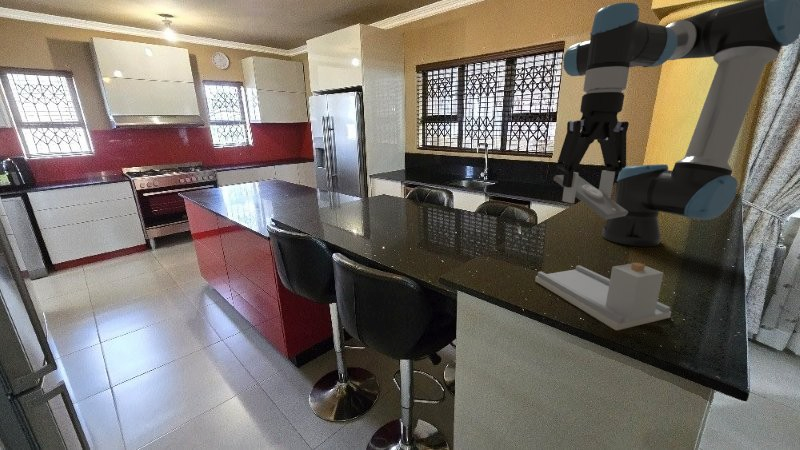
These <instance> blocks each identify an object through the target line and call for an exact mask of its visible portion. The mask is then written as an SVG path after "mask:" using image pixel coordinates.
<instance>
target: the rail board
mask: <svg viewBox="0 0 800 450" xmlns="http://www.w3.org/2000/svg"><path fill="white" fill-rule="evenodd" d="M664 273H665V272H662V271H660V270H657V269H656V268H652V267H649V266H646V264H643V263H641V262H632V263H626V264H620V265H613V266H612V267H611V272H610V278H608V277H606V276H604V275H601V274H599V273H598V272H595V271H593V270H590V269H588V268H586V267H584V266H582V265H580V264H579V265H576V267H575V269H569V270H564V271H557V272H552V273H545V272H543V271H538V272H537V275H536V276H535V280H534V282H535V283H538V284H539V285H541V286H543V287H544V288H546V289H547V290H548V291H550V292H552V293H553V294H556V295H557V296H559V297H560V298H562V299H563V300H565V301H567V302H568V303H570V304H572V305H573V306H576V307H577V308H579V309H580V310H582V311H584V313H586V314H588V315H590V316H591V317H593V318H594V319H596V320H598V321H600V322H601V323H603V324H605V325H606V326H608V327H609V328H611V329H613V330H615V331H621V330H625V329H629V328H633V327H636V326H637V327H638V326H640V325H645V324H649V323H653V322H658V321H661V320H665V319H666V320H667V319H670V318H671V315H672V311H671V307H670V306H668V305H666V304H664V303H662V302H660V301H658V300H659V297H660V292H661V291H660V290H661V285H662V281H663V276H664Z"/></svg>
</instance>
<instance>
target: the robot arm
mask: <svg viewBox="0 0 800 450" xmlns="http://www.w3.org/2000/svg"><path fill="white" fill-rule="evenodd" d="M639 13H640V8H639V6H638V4H637V3H634V2H617V3H613V4H609V5H606V6H604V7H601V8H600V9H599V10H598V11H597V12H595V14H594V17H593V23H592V27H591V32H590V38H589V40H586V41H580V42H578V43H576V44H572V45H571V46H570V47H568V48H567V50H566V51H565V53H564V55H563V69H564V71H565V73H566V74H567V75H568V76H570V77H583V76H584V83H583V92H584V94H583V95H582V96H581V103H580V113H582V115H581V118H580V119H579V120H568V121H567V123H566V134H565V136H564V137H565V138H564V140H563V144H562V147H561V150H560V153H559V156H558V159H557V162H556V164H555V165H556V168H557V169H559V170H560V171H562V172H563V175H564V177H563V186H564V187H563V193H562V200H561V201H562V202H565V203H569V204H575V199H576V197H575V194H576V188H577V181H578V175H579V172H576V171H577V169H578V167H579V165H580V163H581V162H582V160H583V158H584V157H585V154H586V153H587V151H588V149H589V147H590V145H591V144H593V143H594V142H595V141H596V140H597V143H598V144H599V146H600V149H601V153H602V159H603V163H604V167H605V169H604V170H601V175H600V180H599V187H598V189H599V191H601V192H602V193H603V194H605V195H606V196H607V197H608V198H610V199H611V197H612V192H613V187H614V186H616V187H615V193H614V199H613V201H614V202H616V203H617V204H618V205H620V206H621V207H623V208H624V209H625V210H627V211H628V214H627V215H626V216H623V217H618V218H613V219H607V221H606V223H605V225H604V227H603V228H602V233H601V236H602V238H604V239H605V240H607V241H609V242H613V243H616V244H621V245H624V246H632V247H641V248H642V247H643V248H645V247H646V248H647V247H648V248H649V247H650V248H651V247H655V246H659V245H660V244H661V239H662V234H661V230H660V224H659V220H658V219H659V218H658V217H659V212H661V213H665V214H670V215H675V216H681V217H685V218H688V219H696V220H697V219H698V220H704V221H707V220H713V219H715V218H717V217H719V216H720V215H722V214H723V213H725V212H726V210H727V209H729V207H730V205H731V204H732V203H733V201H734V199H735V197H736V195H737V192H738V186H739V183H738V180H737V178H735V177H734V176H733V175H732V173H733V171H734V170H733V168H732V167H731V166H730V165H729V164H728V163H729V159H730V157H731V154H732V152H733V148H734V147H735V143H736V141H737V138H738V135H739V133H740V131H741V129H742V125H743V124H744V120H745V118H746V115H747V112H748V111H749V107H750V105H751V102H752V100H753V98H754V95H755V92H756V90H757V87H758V85H759V82H760V80H761V76H762V75H763V72H764V70H765V66H766V65H767V64H769V63H771V62H772V61H774V60H775V59H777V57H778V56H779V54H780V51H781V48H782V47H788V46H789V45H791V44H793V43H794V42H796V41H797V39H798V38H799V37H800V0H742V1H740V2H735V3H731V4H729V5H725V6H719V7H716V8H712V9H709V10H706V11H703V12H701V13H698V14H696V15H693V16H690V17H688V18H683V19H680V20H675V21H672V22H671V23H669V24H668V25H666V26H664V25H661V24H652V23H647V22H643V21H642V22H641V20H639V19H640V15H639ZM701 58H703V59H704V58H713V61H714V62H715V63H716V64H717V65H718V66H717V68H716V70H715V73H714V76H713V79H712V82H711V84H710V87H709V90H708V93H707V96H706V98H705V100H704V103H703V106H702V109H701V111H700V114H699V117H698V120H697V123H696V125H695V127H694V128H695V129H694V131H693V133H692V136H691V139H690V141H689V144H688V147H687V150H686V152H685V156H684V157H683V158H682V159H679V160H677V161H675V163H674V166H673V168H672V170H669V165H668V164H663V163H661V164H642V165H639V164H638V165H627V132H628V130H629V129H628V128H629V124H630V123H629V121H619V120H618V114H619V113H621V112H622V110H623V107H624V99H625V94H624V92H623V91H625V90H626V89H627V83H628V79H629V73H630V72H629V71H630V68H634V67H643V68H649V67H650V68H654V67H658V66H659V67H660V65H663V64H664V63H666V62H668V61H676V60H682V59H683V60H684V59H701ZM617 173H618V176H617ZM616 176H617V177H616ZM616 178H617V179H616ZM615 182H616V185H615Z"/></svg>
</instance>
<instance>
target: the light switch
mask: <svg viewBox="0 0 800 450" xmlns="http://www.w3.org/2000/svg"><path fill="white" fill-rule="evenodd" d="M563 177H564V174H559V175H558V174H557V175H556V174H555V176H553V179H552V180H553V181H554V182H556V183H557V184H558V185H560V186H561V187H562V188H564V186H563ZM575 199H578V200H579V201H580V202H582V203H583V204H584V205H585V206H586V207H587V208H589V209H591V210H592V211H593V212H594V213H595V214H597V215H598V216H599V217H601V218H602V219H603V220H605V221H606V220H607V221H608V219H613V218H618V217H623V216H626V215H627V214H628V211H627V210H625V209H624V208H623V207H621V206H620V205H618V204H617V203H616V202H614V199H611V198H608V197H607V196H606V195H605V194H603V193H602V192H601V191H599V188H596V187H595V186H594V185H592V184H591V183H590V182H588V181H586V179H584V178H583V177H581V176H580V175H579V174H578V181H577V188H576V194H575Z"/></svg>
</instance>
